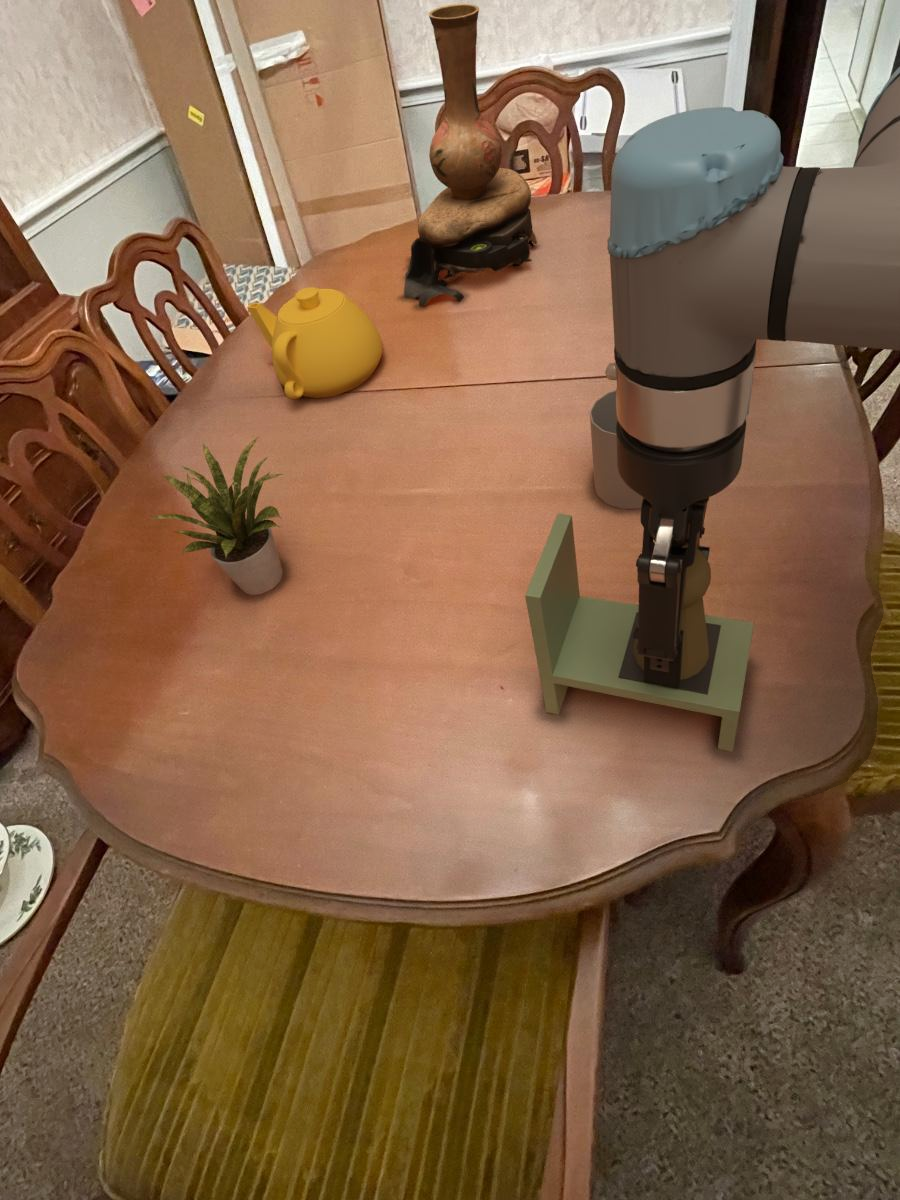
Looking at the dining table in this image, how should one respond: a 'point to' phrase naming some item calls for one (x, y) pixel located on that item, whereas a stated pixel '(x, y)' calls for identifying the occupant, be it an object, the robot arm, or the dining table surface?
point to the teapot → (320, 343)
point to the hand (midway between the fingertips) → (670, 648)
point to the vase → (466, 177)
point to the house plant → (233, 525)
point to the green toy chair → (621, 644)
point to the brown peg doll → (692, 619)
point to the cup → (609, 456)
